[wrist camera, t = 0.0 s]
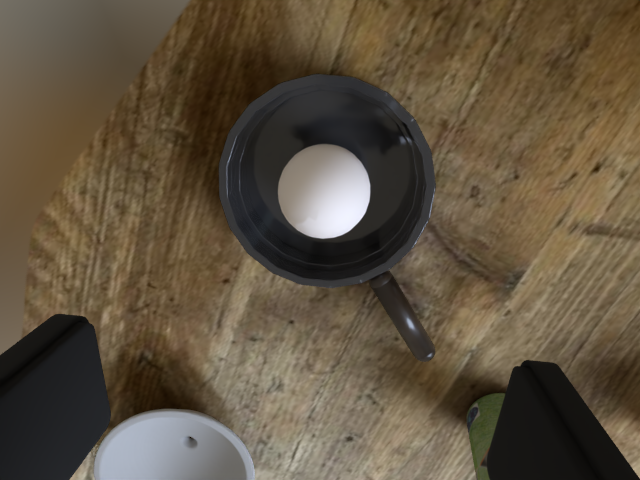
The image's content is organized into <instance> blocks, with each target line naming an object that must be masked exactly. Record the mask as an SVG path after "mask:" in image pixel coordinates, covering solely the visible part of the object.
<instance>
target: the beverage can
mask: <svg viewBox="0 0 640 480" xmlns="http://www.w3.org/2000/svg"><path fill="white" fill-rule="evenodd" d="M505 394H506V393H495V394H490V395H486V396H484V397H481V398H480V399H478V400H477V401H475V402H474V403H473V404H472V406H471V407H470V409H469V411H468V413H467V427H468V433H469V438H470V444H471V450H472V455H473V461H474V467H475V472H476V478H477V480H490V479H489V475H488V471H487V455H488V452H489V448H490V445H491V441H492V438H493V435H494V431H495V428H496V424H497V421H498V418H499V414H500V411H501V407H502V404H503V401H504V397H505Z"/></svg>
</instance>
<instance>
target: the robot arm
mask: <svg viewBox="0 0 640 480" xmlns="http://www.w3.org/2000/svg"><path fill="white" fill-rule="evenodd" d="M110 417H111V411H110V406H109V401H108V396H107V391H106V385H105V380H104V375H103V370H102V365H101V359H100V354H99V349H98V344H97V339H96V333H95V329H94V326H93V325H92V324H90V323H89V322H88V320H87V319H86V317H83V316H76V315H65V314H56V315H54V316H52V317H50V318H49V319H48V320H46V321H45V322H44V323H42V324H41V325H40V326H38V327H37V328H36V329H34V330H33V331H32V332H30V333H29V334H28V335H26V336H25V337H24V338H23V339H21V340H20V341H19V342H17V343H16V344H15V345H13V346H12V347H11V348H9V349H8V350H7V351H5V352H4V353H3V354H1V355H0V480H70V478H71V477H72V475H73V474H74V473H75V471H76V470H77V469H78V467H79V466H80V465H81V463H82V462H83V460H84V459H85V458H86V456H87V455H88V454H89V452H90V451H91V450H92V448H93V447H94V445H95V444H96V443H97V441H98V440H99V439H100V437H101V436H102V435H103V433H104V432H105V430H106V429H107V427H108V425H109V422H110ZM487 471H488V475H489V479H490V480H640V479H639V477H638V476H637V474H636V473H635V472H634V470H633V469H632V467H631V466H630V465H629V463H628V462H627V461H626V459H625V458H624V456H623V455H622V454H621V452H620V451H619V449H618V448H617V447H616V445H615V444H614V442H613V441H612V440H611V438H610V437H609V435H608V434H607V433H606V431H605V430H604V428H603V427H602V426H601V424H600V423H599V422H598V420H597V419H596V417H595V416H594V415H593V413H592V412H591V410H590V409H589V408H588V406H587V405H586V403H585V402H584V401H583V399H582V398H581V396H580V395H579V394H578V392H577V391H576V390H575V388H574V387H573V385H572V384H571V383H570V381H569V380H568V378H567V377H566V376H565V374H564V373H563V371H562V370H561V369H560V367H559V366H558V365H557V364H555V363H550V362H540V361H530V360H526V361H524V362H523V363H522V364H521V366H516V367H514V368H513V371H512V373H511V377H510V380H509V384H508V387H507V390H506V394H505V397H504V401H503V404H502V407H501V411H500V414H499V418H498V421H497V424H496V428H495V431H494V435H493V438H492V441H491V445H490V448H489V452H488V455H487Z"/></svg>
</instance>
